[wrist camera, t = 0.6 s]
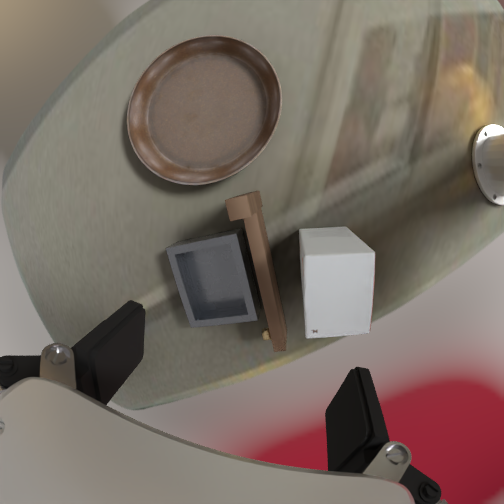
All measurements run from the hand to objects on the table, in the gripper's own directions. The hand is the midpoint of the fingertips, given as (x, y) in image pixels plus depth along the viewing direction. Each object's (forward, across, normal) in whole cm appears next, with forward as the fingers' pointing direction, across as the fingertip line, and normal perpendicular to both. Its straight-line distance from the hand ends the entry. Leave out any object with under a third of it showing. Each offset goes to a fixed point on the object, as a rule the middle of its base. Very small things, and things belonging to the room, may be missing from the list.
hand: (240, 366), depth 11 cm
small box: (+26, -7, +1) cm, 26 cm away
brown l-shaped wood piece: (+25, 0, +4) cm, 26 cm away
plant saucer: (+26, +14, -14) cm, 32 cm away
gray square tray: (+25, +6, +7) cm, 27 cm away
